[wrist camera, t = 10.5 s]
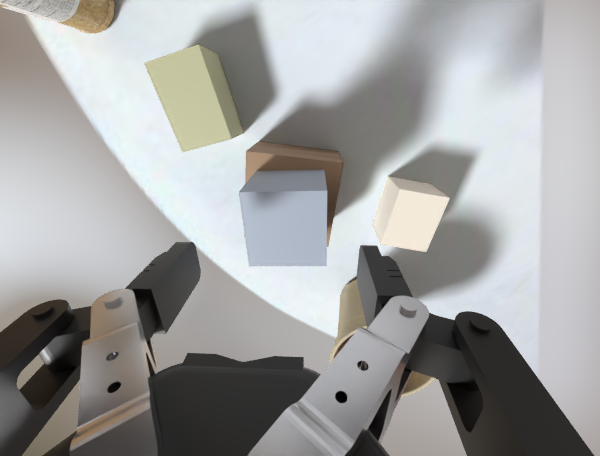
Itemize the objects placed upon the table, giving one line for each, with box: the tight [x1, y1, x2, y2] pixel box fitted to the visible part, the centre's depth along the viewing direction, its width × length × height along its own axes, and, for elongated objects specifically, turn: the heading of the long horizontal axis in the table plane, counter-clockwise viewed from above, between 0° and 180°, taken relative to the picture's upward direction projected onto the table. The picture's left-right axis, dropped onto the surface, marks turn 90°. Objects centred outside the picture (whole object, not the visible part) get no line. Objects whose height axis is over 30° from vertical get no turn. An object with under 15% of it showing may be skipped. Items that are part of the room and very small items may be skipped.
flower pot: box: [329, 279, 435, 397], centre depth 26 cm, size 9×9×9 cm
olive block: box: [144, 45, 244, 152], centre depth 21 cm, size 6×4×4 cm, turn 15°
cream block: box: [372, 176, 450, 252], centre depth 24 cm, size 5×4×4 cm
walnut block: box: [244, 142, 343, 247], centre depth 23 cm, size 7×7×5 cm
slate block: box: [239, 169, 327, 266], centre depth 18 cm, size 5×5×5 cm
